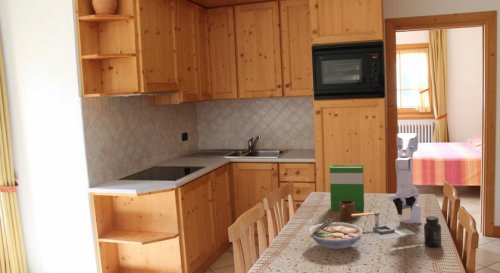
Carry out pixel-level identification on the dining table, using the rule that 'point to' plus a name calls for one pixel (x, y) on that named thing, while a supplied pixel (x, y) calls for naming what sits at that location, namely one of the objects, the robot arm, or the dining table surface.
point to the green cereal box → (347, 185)
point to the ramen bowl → (335, 234)
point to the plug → (405, 212)
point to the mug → (347, 210)
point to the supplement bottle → (432, 232)
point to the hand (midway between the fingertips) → (404, 213)
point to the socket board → (388, 230)
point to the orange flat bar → (365, 214)
